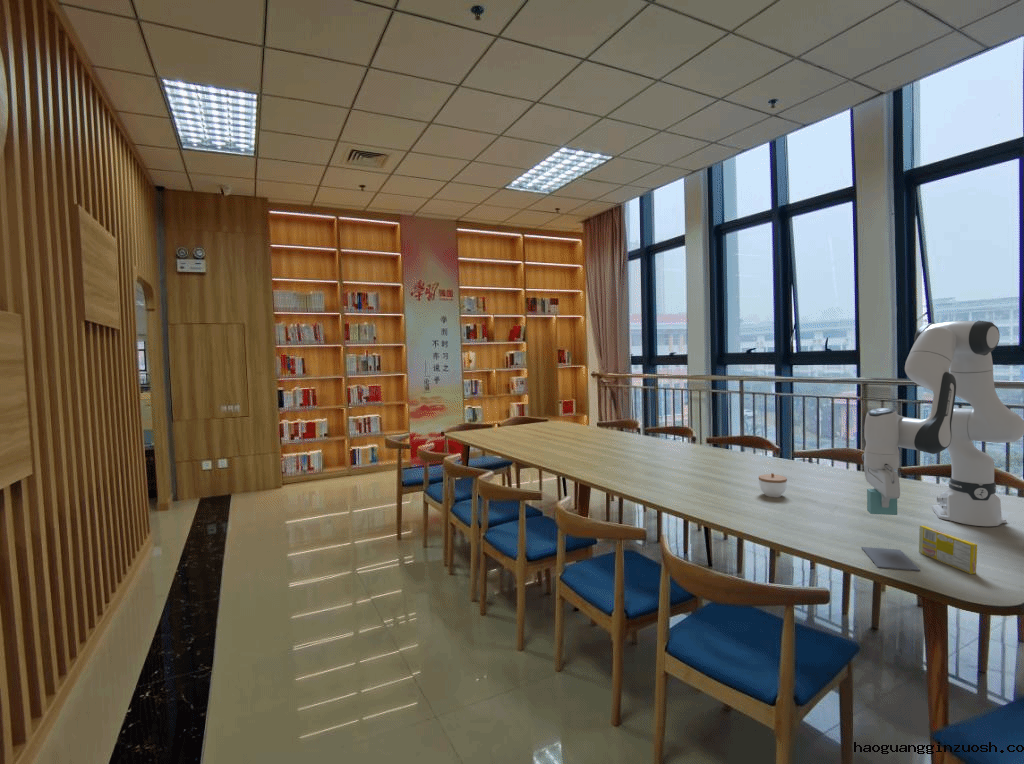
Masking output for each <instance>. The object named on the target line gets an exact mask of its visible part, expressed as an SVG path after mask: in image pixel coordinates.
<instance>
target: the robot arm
mask: <svg viewBox="0 0 1024 764" xmlns="http://www.w3.org/2000/svg"><path fill="white" fill-rule="evenodd" d="M914 333H915V334H914V338H913V340H914V343H913V345H912V347H911V349H910V351H909V354H908V356H907V358H906V360H905V365H904V372H905V374H906V376H907V378H909V380H910V381H912V382H913V383H915V384H916V385H919V386H920V387H922V388H925V389H927V390H930V391H932V393H933V399H932V404H931V409H930V413H929V414H928V415H927V418H915V417H908V416H903V415H900V414H898V413H897V411H896V409H894V408H891V407H880V408H879V407H878V408H877V407H876V408H872V409H871V410H869V411H867V412H866V414H865V415H866V416H865V418H864V419H865V420H864V427H863V428H864V430H863V431H864V433H863V436H864V440H865V447H864V450H863V451H864V453H862V455H861V459H862V460H861V461H863V469H864V477H865V481H866V483H868V484H869V485H870V486H871V487H872V488H873V489H876V490H877V491H878V492H880V493H881V496H882V499H881V506H882V507H885V508H888V507H889V501H890V498H891V499H897V500H898V499H899V498H900V496H901V487H900V486H901V484H900V477H899V474H898V472H896V469H899V468H900V450H899V448H902V449H909V450H913V451H914V450H915V451H920V452H923V453H927V454H932V455H936V454H939V453H941V452H943V451H944V450H946V449H947V450H948V453H949V457H950V464H951V477H950V479H949V480H948V481H949V482H948V488H947V489H946V490H944V491H943V492H941V493H940V496H937V497H936V503H938V504H932V505H931V508H932V510H933V511H934V512H935V514H936V516H937V517H938V519H941V520H946V521H951V522H956V523H959V524H963V525H968V526H976V527H977V526H978V527H997V526H1000V525H1001V524H1006V523H1007V519H1006V518H1004V517H1003V515H1002V514H1003V513H1002V503H1001V501H1002V500H1001V498H1000V497H999V496H997V495H996V493H997V483H996V482H995V461H994V459H993V458H992V456H990V455H989V454H987V453H986V452H984V451H982V450H979V449H978V448H977V447H976V446H975V445H974V443H973V441H974V442H983V443H984V442H985V443H992V444H993V443H994V444H995V443H997V444H1001V443H1002V444H1004V443H1016V442H1017V441H1019V440H1020V439H1021V438H1022V437H1023V436H1024V419H1023V418H1022V417H1021V416H1020V415H1019V414H1018V413H1016V412H1015V411H1013V410H1011V409H1010V408H1009V407H1008V406H1006V405H1005V404H1004V403H1003V402H1002V401H1001V399H1000V398H999V396H998V394H997V391H996V385H995V377H994V363H993V356H992V352H993V351H994V350H995V349H996V348H997V347H998V344H999V343H1000V330H999V328H998V326H997V325H996V324H994V322H992V321H987V320H977V321H975V320H953V321H945V322H944V321H943V322H929V323H926V324H923V325H921V326H920V327H919V328H918V329H917V330H916V332H914ZM956 397H957V398H959V399H961V400H962V401H965V402H967V403H968V404H970V406H971V407H972V408H966V407H965V408H964V407H963V408H961V407H955V402H956Z"/></svg>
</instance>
